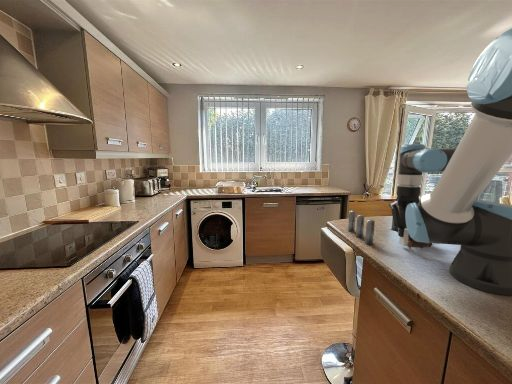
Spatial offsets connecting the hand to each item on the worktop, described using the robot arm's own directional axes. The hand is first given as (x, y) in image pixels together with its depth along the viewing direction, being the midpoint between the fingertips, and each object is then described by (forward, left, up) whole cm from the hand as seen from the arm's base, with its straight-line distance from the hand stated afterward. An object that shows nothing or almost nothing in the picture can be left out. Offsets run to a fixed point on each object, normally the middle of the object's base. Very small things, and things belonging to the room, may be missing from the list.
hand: (403, 244), depth 88 cm
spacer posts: (+13, 0, -1) cm, 13 cm away
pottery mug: (+1, -7, -2) cm, 7 cm away
